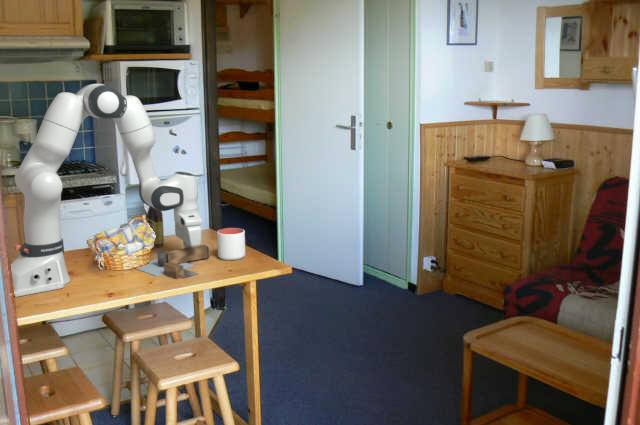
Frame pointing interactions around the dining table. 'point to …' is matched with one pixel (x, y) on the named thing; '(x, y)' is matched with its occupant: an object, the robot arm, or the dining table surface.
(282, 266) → the dining table surface
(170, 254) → the leg
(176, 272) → the stop block
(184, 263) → the blue-grey square mat
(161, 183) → the robot arm
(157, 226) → the sauce bottle
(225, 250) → the cup
